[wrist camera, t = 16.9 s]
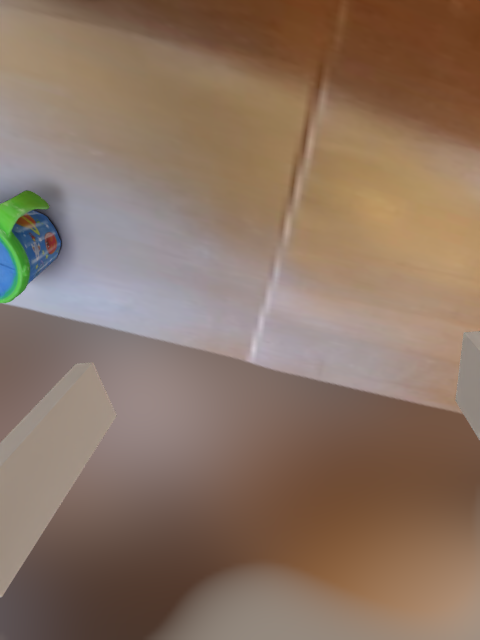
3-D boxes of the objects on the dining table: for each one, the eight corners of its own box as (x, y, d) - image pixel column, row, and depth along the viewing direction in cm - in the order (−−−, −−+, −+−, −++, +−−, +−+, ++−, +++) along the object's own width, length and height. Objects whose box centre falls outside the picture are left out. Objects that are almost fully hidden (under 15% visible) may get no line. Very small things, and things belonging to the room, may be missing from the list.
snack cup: (38, 297, 51) (-16, 332, 42) (-24, 242, 48) (-96, 267, 39) (100, 229, 45) (51, 253, 36) (33, 161, 42) (-38, 169, 33)
